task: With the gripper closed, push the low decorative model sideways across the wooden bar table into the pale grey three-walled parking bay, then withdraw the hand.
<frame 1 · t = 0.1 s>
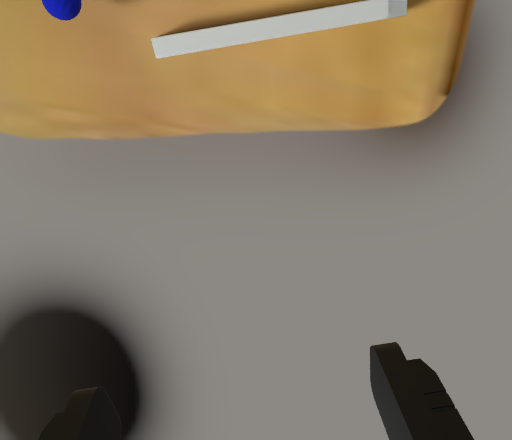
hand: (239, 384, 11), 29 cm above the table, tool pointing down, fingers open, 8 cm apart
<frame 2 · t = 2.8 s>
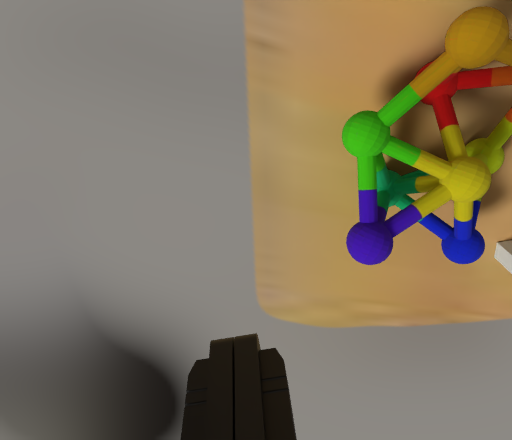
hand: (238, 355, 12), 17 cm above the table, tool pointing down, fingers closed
decorative model: (416, 137, 27), on the table
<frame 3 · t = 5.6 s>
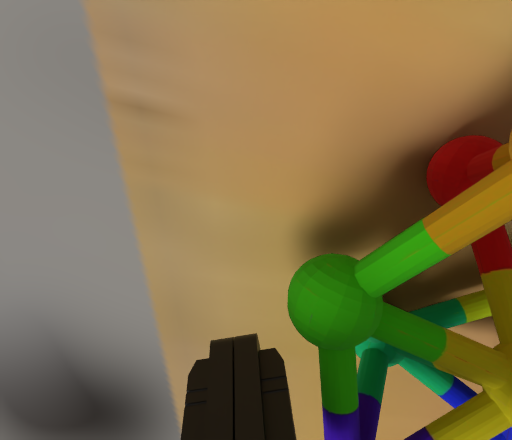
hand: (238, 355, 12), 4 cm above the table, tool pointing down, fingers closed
decorative model: (431, 248, 16), on the table, touching gripper
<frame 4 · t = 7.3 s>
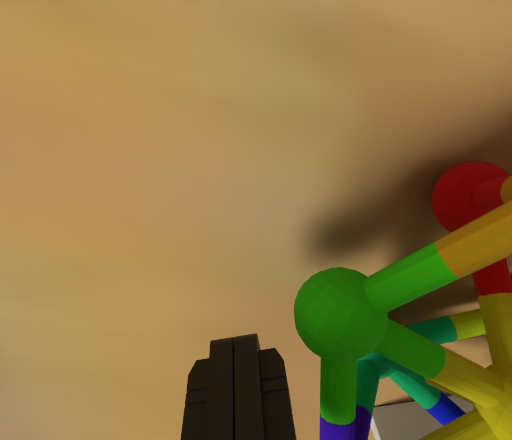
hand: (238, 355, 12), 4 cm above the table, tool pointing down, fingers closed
decorative model: (428, 265, 16), on the table, touching gripper
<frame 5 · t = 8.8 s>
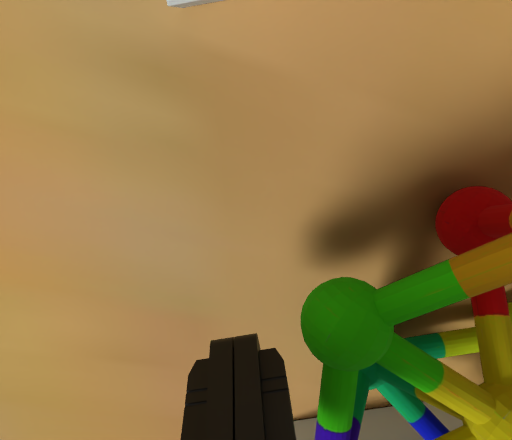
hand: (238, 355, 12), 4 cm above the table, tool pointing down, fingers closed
decorative model: (423, 282, 17), on the table, touching gripper
bay: (470, 242, 16), on the table
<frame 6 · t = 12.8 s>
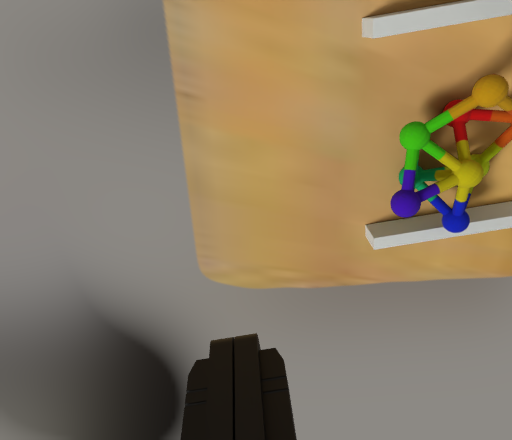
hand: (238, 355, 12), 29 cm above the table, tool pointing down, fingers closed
decorative model: (436, 146, 40), on the table
bay: (455, 126, 39), on the table
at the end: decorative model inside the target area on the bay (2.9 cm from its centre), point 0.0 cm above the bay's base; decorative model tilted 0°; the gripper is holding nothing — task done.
